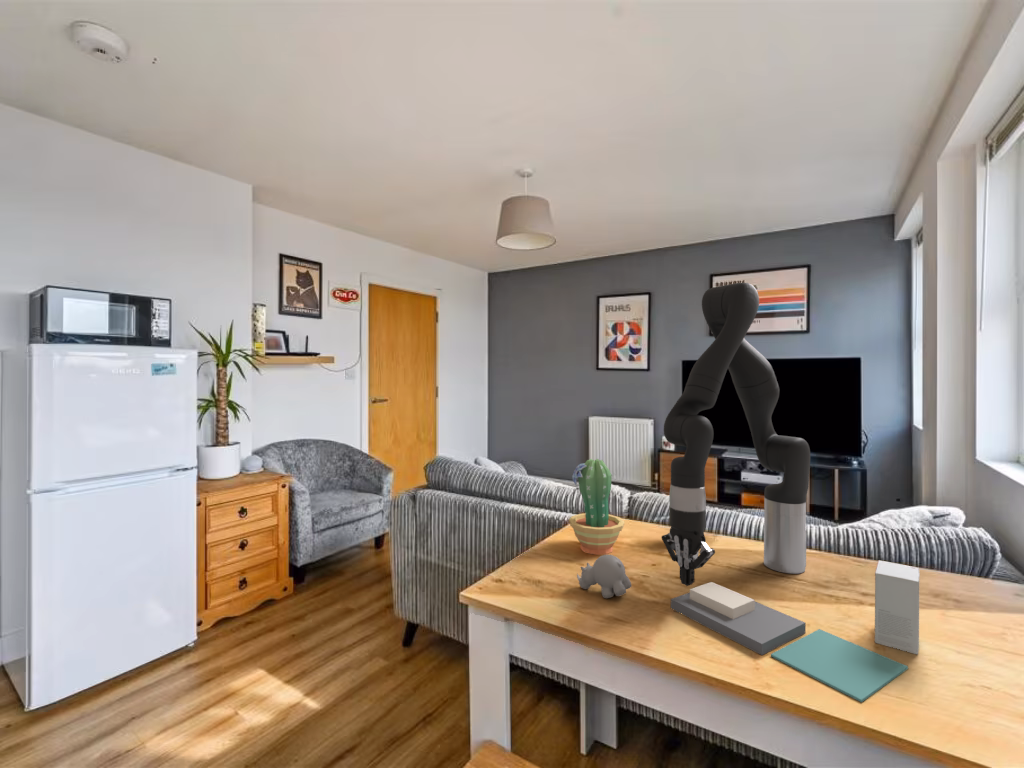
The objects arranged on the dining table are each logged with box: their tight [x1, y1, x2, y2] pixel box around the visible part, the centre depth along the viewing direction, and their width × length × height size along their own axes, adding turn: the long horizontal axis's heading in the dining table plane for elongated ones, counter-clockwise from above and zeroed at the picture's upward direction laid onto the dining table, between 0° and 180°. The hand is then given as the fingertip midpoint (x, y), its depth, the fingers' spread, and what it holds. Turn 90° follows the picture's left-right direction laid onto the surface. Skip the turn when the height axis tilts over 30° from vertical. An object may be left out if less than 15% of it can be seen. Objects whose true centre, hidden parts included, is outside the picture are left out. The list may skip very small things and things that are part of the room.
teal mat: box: [770, 628, 909, 703], centre depth 84 cm, size 16×14×1 cm
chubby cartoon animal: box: [576, 554, 632, 599], centre depth 111 cm, size 7×12×8 cm, turn 54°
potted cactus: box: [568, 458, 625, 556], centre depth 138 cm, size 15×15×25 cm
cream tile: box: [689, 581, 756, 619], centre depth 100 cm, size 7×10×2 cm
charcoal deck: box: [670, 591, 807, 656], centre depth 98 cm, size 14×20×2 cm
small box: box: [874, 559, 921, 655], centre depth 91 cm, size 8×6×13 cm
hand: (686, 583), depth 108 cm, fingers closed
